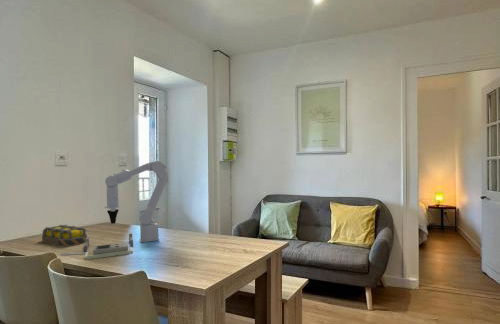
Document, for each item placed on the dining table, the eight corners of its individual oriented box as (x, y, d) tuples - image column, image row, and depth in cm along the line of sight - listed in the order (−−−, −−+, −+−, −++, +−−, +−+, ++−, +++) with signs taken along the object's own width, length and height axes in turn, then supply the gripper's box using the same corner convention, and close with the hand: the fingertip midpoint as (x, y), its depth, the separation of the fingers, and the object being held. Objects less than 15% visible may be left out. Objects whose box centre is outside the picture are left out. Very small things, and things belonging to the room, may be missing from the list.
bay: (131, 249, 156) (131, 246, 156) (132, 253, 148) (132, 250, 148) (85, 254, 148) (85, 251, 148) (84, 259, 140) (84, 256, 140)
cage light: (63, 223, 193) (92, 227, 178) (63, 236, 193) (92, 241, 177) (36, 227, 181) (65, 232, 165) (37, 241, 181) (65, 247, 165)
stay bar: (62, 255, 150) (62, 253, 150) (88, 254, 151) (88, 251, 151) (60, 256, 148) (60, 254, 148) (87, 255, 149) (87, 252, 149)
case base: (132, 241, 174) (132, 232, 174) (133, 246, 162) (133, 237, 162) (85, 246, 165) (85, 237, 165) (83, 252, 153) (83, 242, 153)
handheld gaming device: (128, 254, 148) (127, 245, 148) (93, 258, 143) (92, 249, 143) (127, 250, 156) (127, 242, 157) (94, 253, 151) (94, 245, 151)
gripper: (104, 197, 177) (105, 222, 176) (104, 199, 163) (104, 226, 163) (118, 196, 179) (119, 220, 179) (119, 198, 166) (119, 224, 166)
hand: (113, 223), depth 171 cm, fingers closed
